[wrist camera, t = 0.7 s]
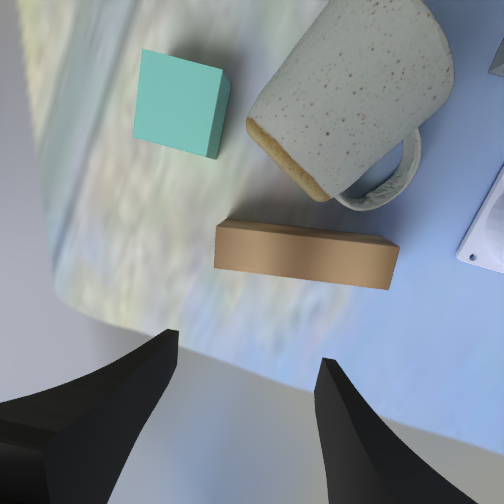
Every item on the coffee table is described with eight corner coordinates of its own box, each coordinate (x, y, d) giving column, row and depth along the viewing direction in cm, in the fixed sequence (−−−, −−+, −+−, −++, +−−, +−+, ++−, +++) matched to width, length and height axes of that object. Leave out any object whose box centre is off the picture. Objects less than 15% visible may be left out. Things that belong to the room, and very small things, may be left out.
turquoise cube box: (232, 86, 18) (222, 69, 15) (217, 160, 20) (205, 157, 17) (164, 68, 18) (142, 48, 15) (154, 142, 20) (132, 137, 17)
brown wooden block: (380, 235, 20) (400, 247, 16) (371, 271, 21) (388, 289, 17) (226, 218, 21) (216, 226, 17) (224, 253, 22) (213, 268, 18)
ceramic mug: (244, 134, 19) (221, 110, 11) (329, 28, 16) (369, -88, 9) (346, 233, 20) (384, 268, 13) (438, 147, 18) (550, 130, 10)
